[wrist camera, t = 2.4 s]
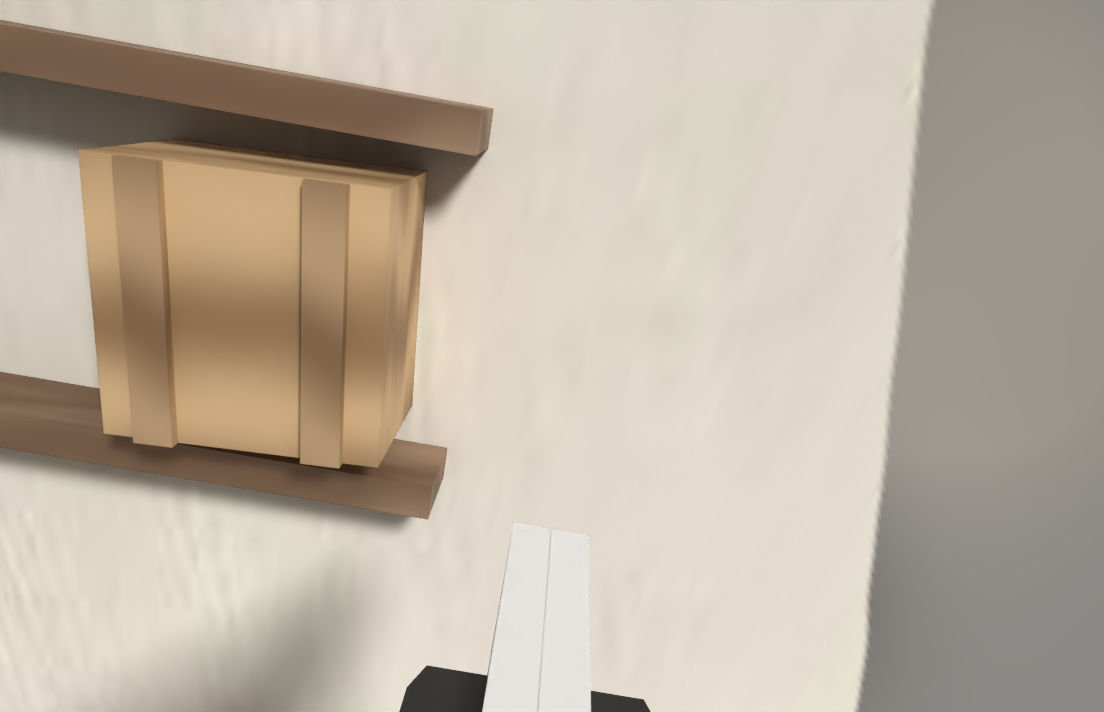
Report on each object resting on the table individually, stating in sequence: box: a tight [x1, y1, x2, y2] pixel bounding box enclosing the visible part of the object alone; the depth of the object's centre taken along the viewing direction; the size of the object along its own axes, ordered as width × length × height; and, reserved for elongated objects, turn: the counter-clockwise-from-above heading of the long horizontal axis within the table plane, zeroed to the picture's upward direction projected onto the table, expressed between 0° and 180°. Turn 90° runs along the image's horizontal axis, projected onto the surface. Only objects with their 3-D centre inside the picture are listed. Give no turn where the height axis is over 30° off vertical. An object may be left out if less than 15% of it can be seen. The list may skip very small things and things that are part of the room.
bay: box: [0, 20, 493, 519], centre depth 27 cm, size 20×31×7 cm, turn 80°
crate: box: [78, 139, 427, 468], centre depth 28 cm, size 10×10×6 cm
